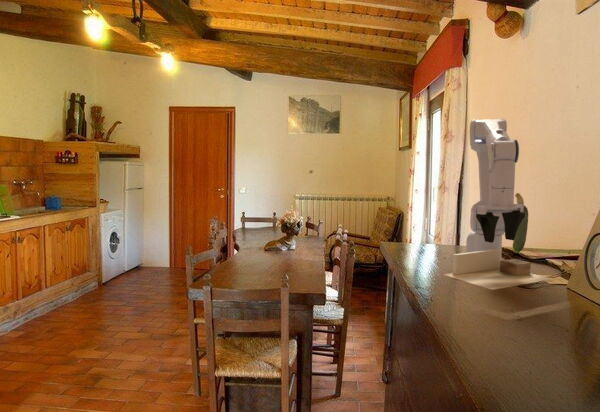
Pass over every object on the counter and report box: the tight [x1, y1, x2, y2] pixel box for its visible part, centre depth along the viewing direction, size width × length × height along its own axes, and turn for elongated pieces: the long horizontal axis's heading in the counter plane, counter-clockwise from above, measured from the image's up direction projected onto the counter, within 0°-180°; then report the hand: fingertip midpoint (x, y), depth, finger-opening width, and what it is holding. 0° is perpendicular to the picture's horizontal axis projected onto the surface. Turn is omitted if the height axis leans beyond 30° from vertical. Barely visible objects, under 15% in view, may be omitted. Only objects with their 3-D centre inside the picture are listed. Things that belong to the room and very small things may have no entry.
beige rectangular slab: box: [452, 249, 502, 274], centre depth 111 cm, size 1×16×5 cm, turn 115°
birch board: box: [443, 268, 553, 291], centre depth 105 cm, size 15×21×1 cm
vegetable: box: [512, 192, 529, 254], centre depth 136 cm, size 4×4×20 cm
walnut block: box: [500, 258, 532, 276], centre depth 109 cm, size 5×5×3 cm
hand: (499, 240), depth 108 cm, fingers open, 7 cm apart
